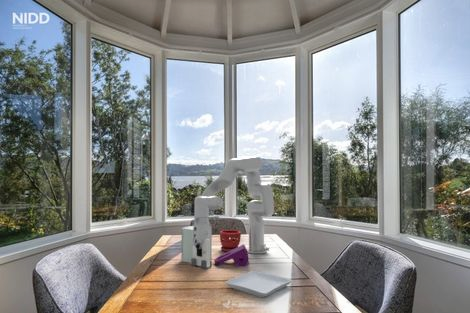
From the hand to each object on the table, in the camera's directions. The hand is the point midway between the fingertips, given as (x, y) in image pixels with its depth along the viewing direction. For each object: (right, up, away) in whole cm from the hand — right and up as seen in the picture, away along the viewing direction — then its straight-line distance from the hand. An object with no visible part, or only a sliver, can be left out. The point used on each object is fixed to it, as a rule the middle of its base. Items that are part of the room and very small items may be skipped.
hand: (201, 255), depth 164 cm
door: (0, -5, 0) cm, 5 cm away
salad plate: (+28, -5, -30) cm, 41 cm away
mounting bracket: (+16, -6, +5) cm, 17 cm away
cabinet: (-4, -6, +13) cm, 15 cm away
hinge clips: (0, -6, 0) cm, 6 cm away
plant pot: (+15, -8, +34) cm, 38 cm away
